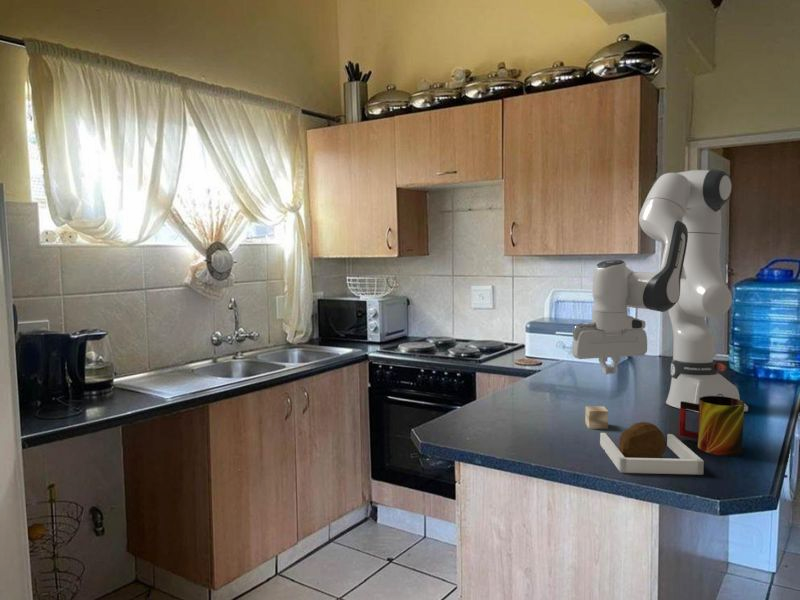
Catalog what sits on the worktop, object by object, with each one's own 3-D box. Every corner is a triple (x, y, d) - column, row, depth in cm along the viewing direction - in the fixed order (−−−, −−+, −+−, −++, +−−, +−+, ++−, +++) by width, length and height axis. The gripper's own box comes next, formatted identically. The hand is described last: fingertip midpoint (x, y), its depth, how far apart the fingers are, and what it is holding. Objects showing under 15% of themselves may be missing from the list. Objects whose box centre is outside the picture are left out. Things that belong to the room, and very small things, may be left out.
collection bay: (672, 445, 152) (672, 434, 151) (703, 474, 133) (703, 461, 132) (600, 444, 153) (600, 432, 153) (620, 472, 134) (620, 459, 134)
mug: (678, 438, 157) (680, 393, 156) (740, 445, 152) (742, 398, 151) (679, 450, 148) (680, 401, 147) (744, 458, 143) (746, 407, 142)
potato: (606, 455, 145) (606, 419, 145) (651, 451, 148) (652, 416, 147) (625, 467, 137) (626, 429, 136) (673, 463, 139) (674, 426, 139)
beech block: (603, 424, 171) (603, 406, 171) (607, 429, 166) (608, 411, 166) (585, 423, 172) (585, 406, 171) (588, 429, 167) (589, 410, 166)
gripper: (579, 325, 157) (578, 378, 158) (651, 321, 160) (650, 373, 162) (567, 322, 163) (567, 373, 164) (637, 319, 167) (636, 369, 168)
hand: (609, 373), depth 163 cm, fingers closed
